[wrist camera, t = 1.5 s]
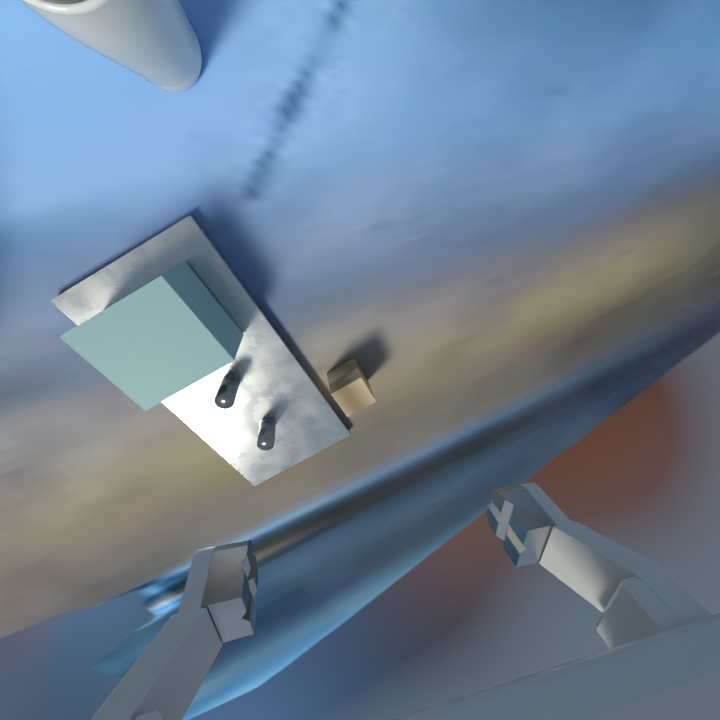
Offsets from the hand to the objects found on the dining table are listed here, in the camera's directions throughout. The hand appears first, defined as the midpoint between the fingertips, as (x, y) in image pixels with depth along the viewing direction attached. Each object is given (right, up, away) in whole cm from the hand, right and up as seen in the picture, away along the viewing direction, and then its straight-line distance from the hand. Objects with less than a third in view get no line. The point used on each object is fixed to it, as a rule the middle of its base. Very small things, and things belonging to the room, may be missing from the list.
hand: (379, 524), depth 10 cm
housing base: (-16, +3, +28) cm, 32 cm away
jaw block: (-2, +3, +31) cm, 31 cm away
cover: (-20, +9, +23) cm, 31 cm away
